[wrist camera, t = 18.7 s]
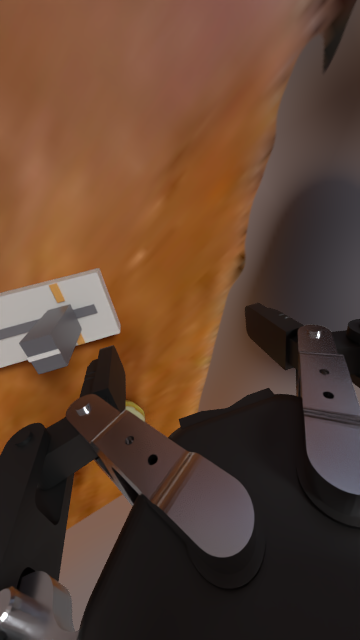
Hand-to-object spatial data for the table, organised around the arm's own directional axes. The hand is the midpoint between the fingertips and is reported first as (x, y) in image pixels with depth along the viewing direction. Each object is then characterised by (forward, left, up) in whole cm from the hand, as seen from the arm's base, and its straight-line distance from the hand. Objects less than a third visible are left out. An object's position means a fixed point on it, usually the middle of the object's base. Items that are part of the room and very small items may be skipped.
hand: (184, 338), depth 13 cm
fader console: (-11, -16, -24) cm, 31 cm away
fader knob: (-7, -12, -21) cm, 25 cm away
